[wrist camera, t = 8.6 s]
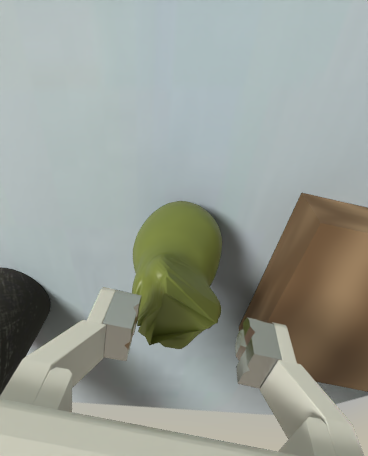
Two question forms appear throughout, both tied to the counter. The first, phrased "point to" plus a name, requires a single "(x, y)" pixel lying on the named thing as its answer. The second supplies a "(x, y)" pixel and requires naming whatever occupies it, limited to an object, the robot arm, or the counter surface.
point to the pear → (176, 274)
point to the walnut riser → (321, 290)
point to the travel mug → (18, 319)
